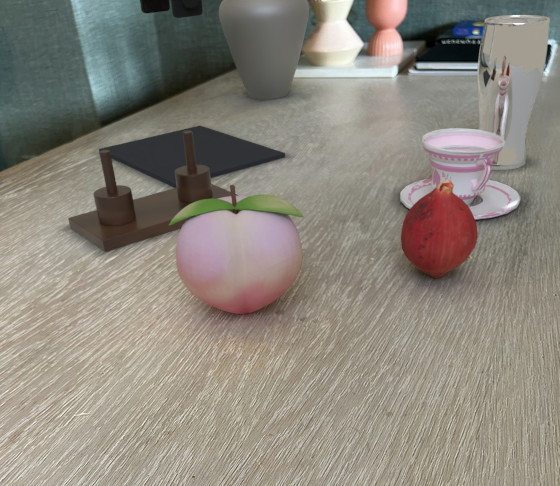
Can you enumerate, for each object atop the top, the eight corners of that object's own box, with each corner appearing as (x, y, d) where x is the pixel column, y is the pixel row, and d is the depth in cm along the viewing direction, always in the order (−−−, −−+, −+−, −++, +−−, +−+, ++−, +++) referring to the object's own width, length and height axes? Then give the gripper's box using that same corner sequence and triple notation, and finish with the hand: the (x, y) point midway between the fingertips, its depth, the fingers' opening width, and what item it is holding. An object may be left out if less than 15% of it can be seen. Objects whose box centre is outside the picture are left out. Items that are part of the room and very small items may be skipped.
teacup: (379, 192, 72) (381, 133, 69) (476, 175, 75) (483, 118, 72) (436, 230, 63) (442, 164, 59) (545, 210, 66) (556, 146, 62)
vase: (208, 100, 113) (190, -78, 99) (261, 84, 122) (252, -81, 108) (276, 109, 106) (267, -83, 92) (327, 91, 115) (326, -86, 101)
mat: (99, 153, 90) (98, 148, 89) (200, 129, 98) (200, 125, 97) (175, 188, 76) (174, 183, 76) (285, 157, 84) (285, 152, 84)
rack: (70, 229, 68) (52, 150, 63) (204, 190, 75) (196, 118, 71) (105, 252, 62) (87, 169, 58) (245, 208, 70) (239, 131, 66)
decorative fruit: (294, 281, 55) (290, 160, 50) (312, 331, 49) (309, 197, 43) (181, 294, 55) (163, 171, 49) (183, 345, 48) (162, 211, 42)
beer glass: (505, 175, 75) (526, 25, 66) (454, 163, 79) (468, 20, 71) (541, 161, 78) (565, 16, 70) (490, 150, 83) (508, 13, 74)
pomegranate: (417, 298, 52) (425, 198, 47) (387, 268, 57) (391, 174, 52) (484, 286, 53) (498, 187, 49) (449, 257, 58) (459, 164, 53)
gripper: (67, -201, 64) (103, 12, 74) (152, -234, 52) (181, 24, 62) (138, -198, 67) (163, 5, 78) (232, -228, 56) (248, 15, 66)
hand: (171, 12), depth 70 cm, fingers closed on disc, 6 cm apart
